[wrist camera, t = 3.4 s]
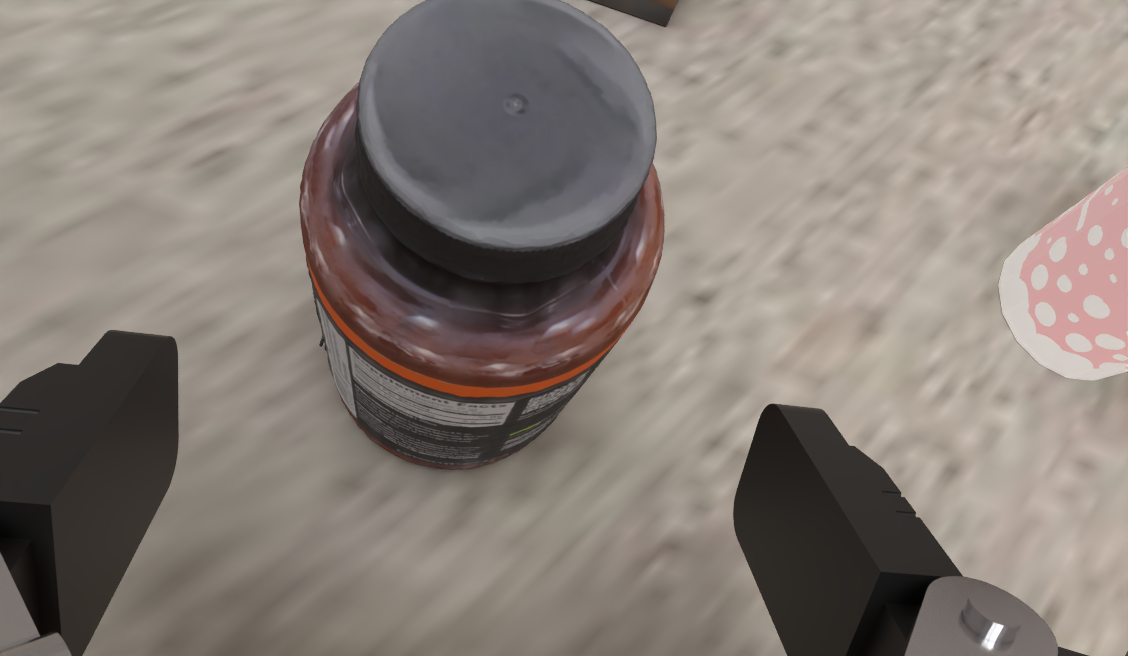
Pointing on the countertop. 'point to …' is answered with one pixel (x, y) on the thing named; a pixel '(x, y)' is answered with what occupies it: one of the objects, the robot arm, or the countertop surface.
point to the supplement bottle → (480, 224)
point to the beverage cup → (1074, 287)
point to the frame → (644, 8)
